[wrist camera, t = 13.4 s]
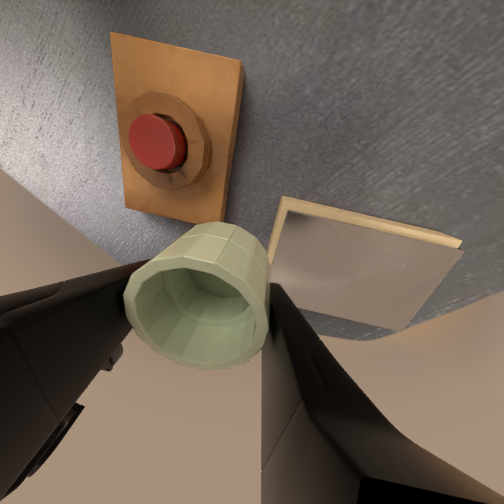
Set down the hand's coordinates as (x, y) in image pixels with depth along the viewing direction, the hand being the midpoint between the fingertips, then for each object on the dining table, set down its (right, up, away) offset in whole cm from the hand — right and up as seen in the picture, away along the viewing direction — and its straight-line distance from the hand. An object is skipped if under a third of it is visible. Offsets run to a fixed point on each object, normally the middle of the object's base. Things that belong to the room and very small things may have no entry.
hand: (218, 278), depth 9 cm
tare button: (-5, +9, +5) cm, 12 cm away
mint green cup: (0, +1, +1) cm, 1 cm away
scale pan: (+10, -1, +8) cm, 13 cm away
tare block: (-5, +10, +8) cm, 14 cm away
